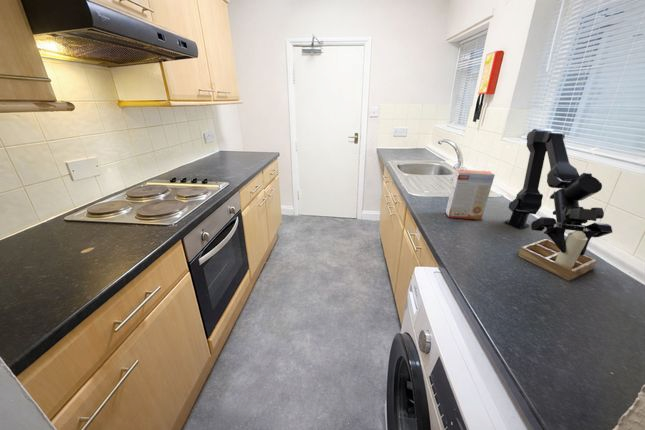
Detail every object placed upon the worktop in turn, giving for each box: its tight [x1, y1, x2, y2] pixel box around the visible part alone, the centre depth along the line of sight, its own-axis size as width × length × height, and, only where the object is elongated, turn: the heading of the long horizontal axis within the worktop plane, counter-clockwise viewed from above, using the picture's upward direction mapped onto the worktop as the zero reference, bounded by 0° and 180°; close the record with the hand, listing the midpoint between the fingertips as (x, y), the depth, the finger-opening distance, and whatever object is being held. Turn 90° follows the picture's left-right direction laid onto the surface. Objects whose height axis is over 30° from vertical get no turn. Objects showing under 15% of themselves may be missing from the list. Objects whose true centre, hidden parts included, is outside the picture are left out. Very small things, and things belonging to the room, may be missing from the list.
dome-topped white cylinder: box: [555, 230, 588, 270], centre depth 81 cm, size 4×4×14 cm
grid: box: [517, 238, 598, 282], centre depth 88 cm, size 15×15×3 cm
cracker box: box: [445, 168, 496, 221], centre depth 115 cm, size 14×6×21 cm, turn 80°
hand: (573, 253), depth 80 cm, fingers closed on dome-topped white cylinder, 4 cm apart
